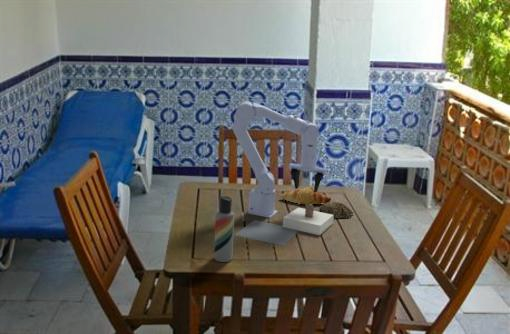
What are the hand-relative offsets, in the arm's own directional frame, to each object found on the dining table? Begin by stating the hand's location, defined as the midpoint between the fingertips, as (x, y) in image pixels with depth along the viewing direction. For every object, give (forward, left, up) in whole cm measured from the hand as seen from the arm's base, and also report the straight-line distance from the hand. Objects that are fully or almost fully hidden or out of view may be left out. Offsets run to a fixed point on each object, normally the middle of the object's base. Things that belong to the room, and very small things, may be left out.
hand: (306, 189), depth 210 cm
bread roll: (+10, +9, -11) cm, 18 cm away
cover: (+5, -10, -10) cm, 15 cm away
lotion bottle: (-9, -51, -11) cm, 53 cm away
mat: (-5, -24, -10) cm, 27 cm away
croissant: (-5, +16, -11) cm, 20 cm away
